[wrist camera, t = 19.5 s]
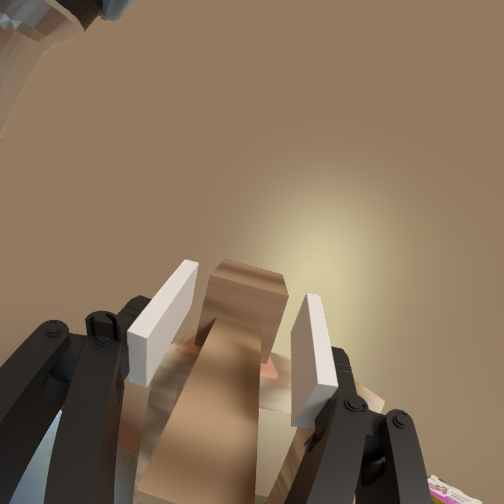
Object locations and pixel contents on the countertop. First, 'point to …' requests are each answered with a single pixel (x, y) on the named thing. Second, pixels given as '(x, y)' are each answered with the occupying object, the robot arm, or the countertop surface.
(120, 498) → the countertop surface
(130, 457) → the countertop surface
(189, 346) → the mat
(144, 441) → the wooden open frame
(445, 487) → the candy bar box
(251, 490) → the mallet
